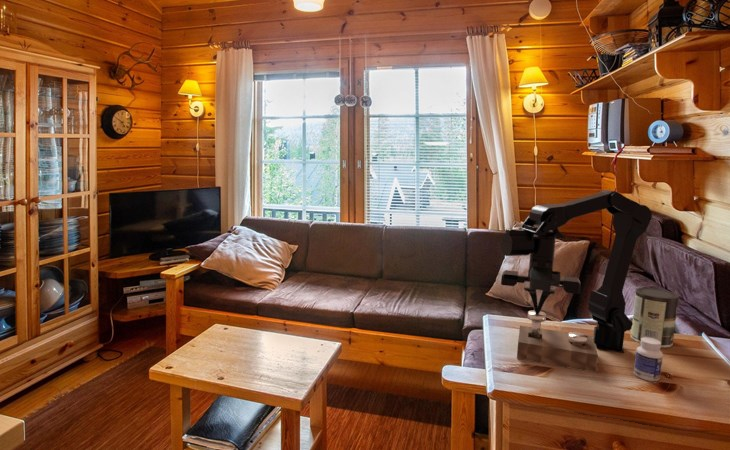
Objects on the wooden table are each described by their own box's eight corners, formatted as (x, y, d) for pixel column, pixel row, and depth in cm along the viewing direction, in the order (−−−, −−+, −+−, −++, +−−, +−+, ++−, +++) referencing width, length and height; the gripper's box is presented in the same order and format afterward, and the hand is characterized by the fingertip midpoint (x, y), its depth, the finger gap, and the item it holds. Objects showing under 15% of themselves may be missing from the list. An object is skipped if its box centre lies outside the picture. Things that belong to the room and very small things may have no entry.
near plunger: (584, 356, 112) (586, 333, 111) (586, 363, 108) (588, 340, 107) (565, 353, 113) (567, 330, 112) (566, 360, 109) (569, 337, 108)
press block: (590, 352, 115) (592, 336, 114) (596, 372, 104) (597, 354, 103) (518, 340, 121) (520, 325, 120) (516, 358, 110) (518, 341, 109)
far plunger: (544, 334, 115) (546, 311, 114) (544, 340, 111) (546, 317, 110) (526, 331, 116) (528, 309, 115) (526, 337, 112) (527, 314, 111)
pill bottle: (660, 384, 99) (665, 347, 97) (633, 377, 101) (637, 342, 100) (659, 374, 103) (663, 339, 102) (633, 368, 106) (637, 334, 105)
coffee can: (662, 334, 127) (668, 288, 125) (680, 349, 117) (687, 299, 115) (624, 331, 129) (629, 286, 127) (638, 345, 119) (644, 296, 117)
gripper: (501, 257, 106) (497, 318, 109) (585, 265, 99) (579, 330, 102) (504, 249, 116) (500, 304, 119) (581, 256, 110) (575, 314, 112)
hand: (537, 313), depth 113 cm, fingers closed, pressing on far plunger
